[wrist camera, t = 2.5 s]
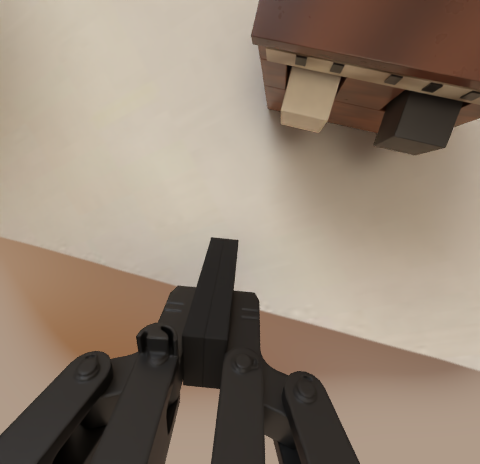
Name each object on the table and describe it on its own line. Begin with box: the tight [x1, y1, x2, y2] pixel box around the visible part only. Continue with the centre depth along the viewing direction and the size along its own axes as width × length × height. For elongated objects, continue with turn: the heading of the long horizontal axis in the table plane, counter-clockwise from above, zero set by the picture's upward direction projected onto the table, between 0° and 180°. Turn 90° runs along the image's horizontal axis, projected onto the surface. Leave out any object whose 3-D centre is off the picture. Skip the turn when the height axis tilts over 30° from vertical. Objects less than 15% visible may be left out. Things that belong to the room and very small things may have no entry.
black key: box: [374, 90, 463, 155], centre depth 17 cm, size 3×4×4 cm
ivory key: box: [281, 66, 341, 133], centre depth 18 cm, size 3×4×4 cm
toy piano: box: [251, 0, 480, 133], centre depth 18 cm, size 14×8×13 cm, turn 76°
